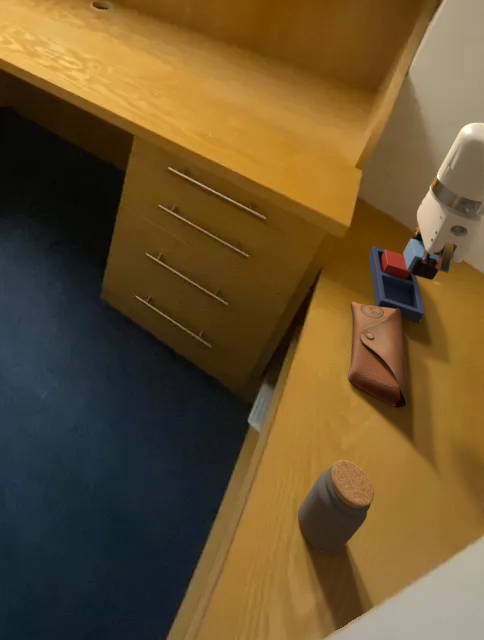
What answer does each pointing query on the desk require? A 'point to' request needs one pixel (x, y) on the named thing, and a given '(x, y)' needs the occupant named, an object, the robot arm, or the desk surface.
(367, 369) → the sunglasses case
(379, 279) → the tray
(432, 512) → the desk surface
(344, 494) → the bottle
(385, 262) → the red block
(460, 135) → the robot arm
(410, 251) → the blue block
